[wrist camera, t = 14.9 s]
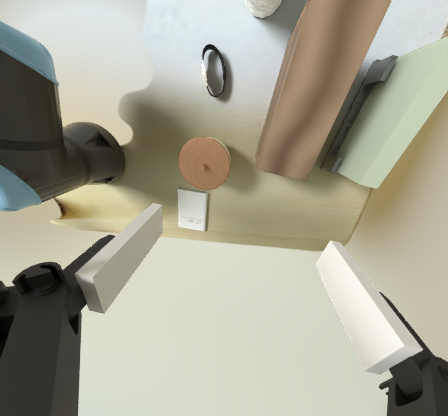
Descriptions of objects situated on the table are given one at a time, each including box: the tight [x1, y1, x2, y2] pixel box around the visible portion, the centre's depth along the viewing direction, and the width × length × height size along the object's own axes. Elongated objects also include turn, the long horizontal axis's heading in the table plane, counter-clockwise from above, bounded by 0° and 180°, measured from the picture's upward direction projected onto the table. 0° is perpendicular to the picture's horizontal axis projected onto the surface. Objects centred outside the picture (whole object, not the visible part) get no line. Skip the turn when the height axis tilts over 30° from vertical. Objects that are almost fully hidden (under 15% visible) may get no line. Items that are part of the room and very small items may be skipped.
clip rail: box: [320, 55, 398, 174], centre depth 31 cm, size 6×19×5 cm, turn 168°
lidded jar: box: [178, 136, 231, 190], centre depth 36 cm, size 11×11×9 cm
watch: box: [201, 44, 226, 97], centre depth 31 cm, size 8×5×4 cm, turn 9°
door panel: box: [336, 37, 448, 189], centre depth 27 cm, size 18×4×11 cm, turn 168°
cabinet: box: [255, 0, 391, 181], centre depth 28 cm, size 8×20×13 cm, turn 168°
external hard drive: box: [177, 188, 208, 231], centre depth 47 cm, size 2×8×12 cm
